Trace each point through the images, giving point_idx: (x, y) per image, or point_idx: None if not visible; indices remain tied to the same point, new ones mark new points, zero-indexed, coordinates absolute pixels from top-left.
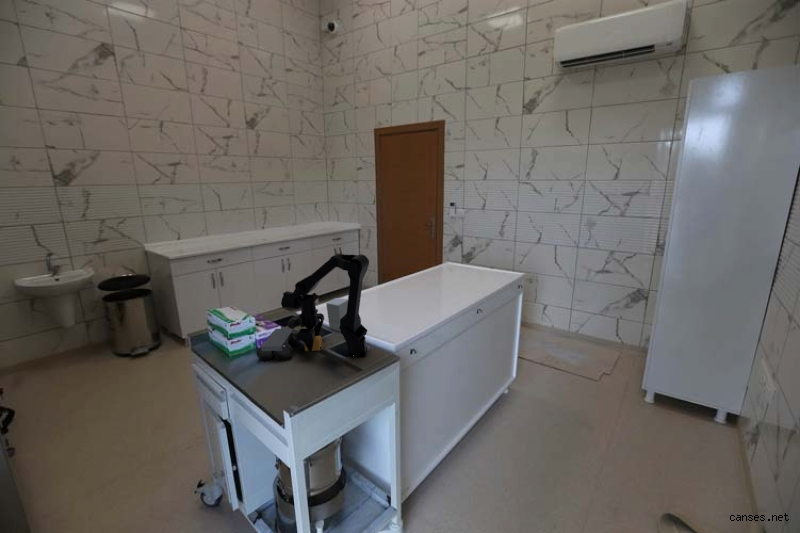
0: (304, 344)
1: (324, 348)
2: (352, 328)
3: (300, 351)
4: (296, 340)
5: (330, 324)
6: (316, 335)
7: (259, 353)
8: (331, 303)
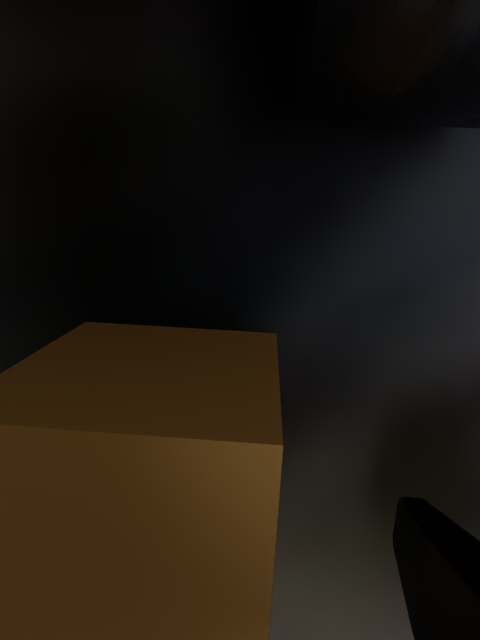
0: (3, 377)
1: None
2: None
3: (65, 231)
4: (305, 30)
5: None
6: (434, 628)
7: None
8: None
